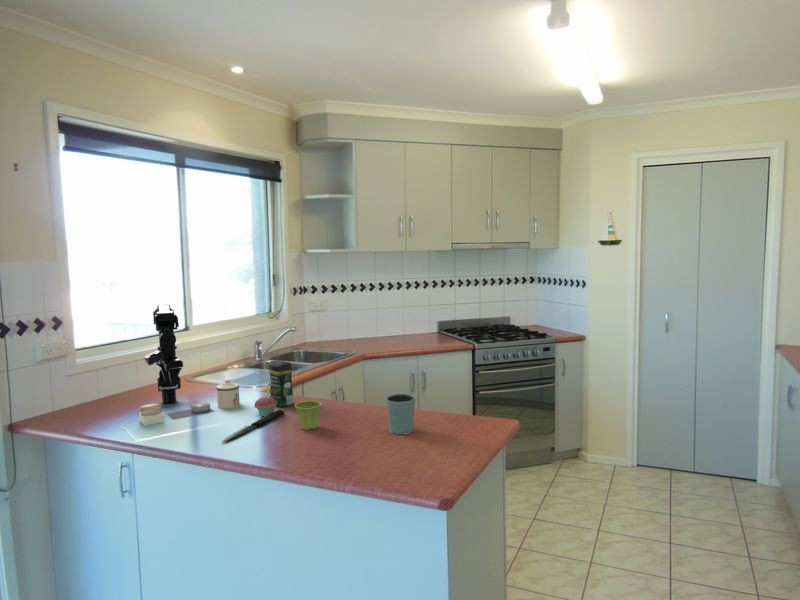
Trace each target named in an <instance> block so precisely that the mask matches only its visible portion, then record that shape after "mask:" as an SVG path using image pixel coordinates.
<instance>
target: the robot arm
mask: <svg viewBox="0 0 800 600" xmlns="http://www.w3.org/2000/svg"><path fill="white" fill-rule="evenodd" d="M152 317H153V325H155V331H157V332H158V341H159V342H158V345H159V346H158V347H157V350H156V351H153V352H151V353H149V354H146V355H144V357H143V358H144V360H145V363H146V365H148V366H151V365H154V364H155V365H156V366H158V367H159V368H160V370H159V372H158V376H157V391H158V392H161V401H160V402H159V404H160V403H161V406H164V405H171V404H176V403H179V400H177V399H178V398H177V390H180V389H181V388H182V386H181V385H182V384H181V383H182V381H181V377H180V376H179V375H180V373H181V370H182V369H183V367H184V361H182V360H181V359H180V358H178V355H176V353H177V351H176V349H177V348H178V346H177V345H176V342H177V337H176V334H175V330H178V328H179V327H180V326H179V317H178V316H177V314H175V310H174V309H173V308H171V304H168V303H165V304H162V303H161V304H158V305H157V308H155V310H154V311H153V313H152Z"/></svg>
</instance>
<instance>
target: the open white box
mask: <svg viewBox="0 0 800 600" xmlns="http://www.w3.org/2000/svg"><path fill="white" fill-rule="evenodd" d="M138 415H139V422H140V423H141V424H142V425H143V426H144V427H145V426H150V425H155V424H161V423H164V422H165V416H164V415H165V413H164V412H163V411H162V413H160V414H157V415H153V416H142V415H141V412H139V414H138Z"/></svg>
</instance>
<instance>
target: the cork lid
mask: <svg viewBox="0 0 800 600" xmlns="http://www.w3.org/2000/svg"><path fill="white" fill-rule="evenodd" d="M162 406H163V405H162V404H160V403H149V404H145V405H142V406H140V413H141V415H142V416H153V415H157V414H160V413H162V412H163V410H162V409H163V408H162Z"/></svg>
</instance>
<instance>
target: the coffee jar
mask: <svg viewBox="0 0 800 600" xmlns="http://www.w3.org/2000/svg"><path fill="white" fill-rule="evenodd" d="M268 365H269V366H268V371H269V377H270V379H269V380H270V384H269V397H271V398H274V399H275V400H276V401H277V405H276V407H280V408H282V407H283V408H284V407H290V406H291V405H292V404H294V392H293V382H292V380H293V379H292V378H293V377H292V374H293V366H292V362H289V361H284V360H279V359H277V360H272V361H270V363H269V364H268ZM289 405H290V406H289Z"/></svg>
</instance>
